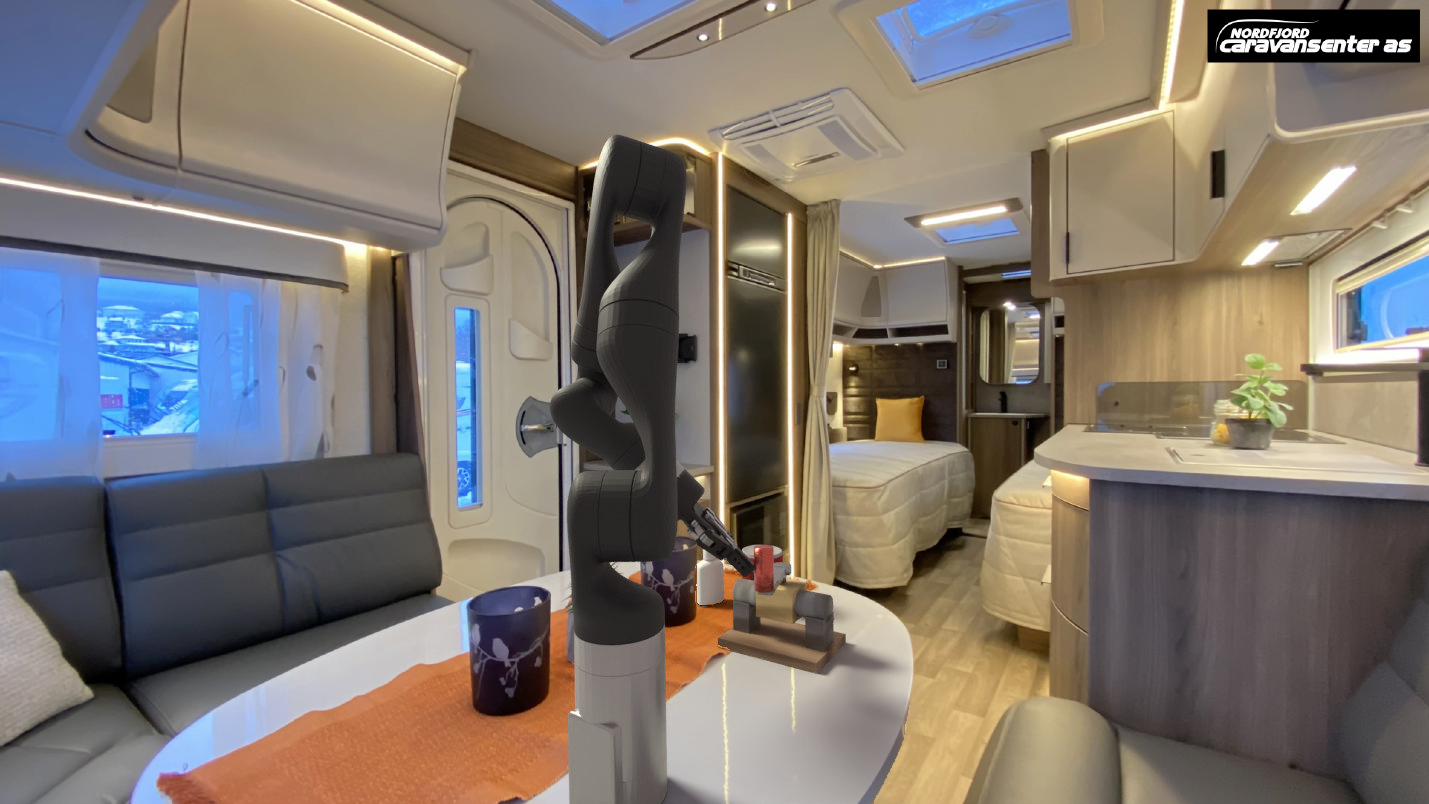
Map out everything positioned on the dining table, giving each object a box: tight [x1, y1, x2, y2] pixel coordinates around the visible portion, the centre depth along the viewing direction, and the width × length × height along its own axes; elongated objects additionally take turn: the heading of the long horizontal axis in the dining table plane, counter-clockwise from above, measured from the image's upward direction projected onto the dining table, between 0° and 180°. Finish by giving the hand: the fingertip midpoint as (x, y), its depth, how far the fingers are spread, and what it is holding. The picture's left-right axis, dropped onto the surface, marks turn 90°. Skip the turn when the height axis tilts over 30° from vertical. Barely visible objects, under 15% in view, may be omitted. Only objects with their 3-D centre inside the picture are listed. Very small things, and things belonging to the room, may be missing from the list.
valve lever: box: [754, 544, 792, 596], centre depth 89 cm, size 15×3×9 cm, turn 162°
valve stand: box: [717, 577, 847, 674], centre depth 95 cm, size 12×17×10 cm
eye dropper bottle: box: [696, 549, 725, 606], centre depth 115 cm, size 4×6×12 cm
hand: (750, 571), depth 84 cm, fingers closed
